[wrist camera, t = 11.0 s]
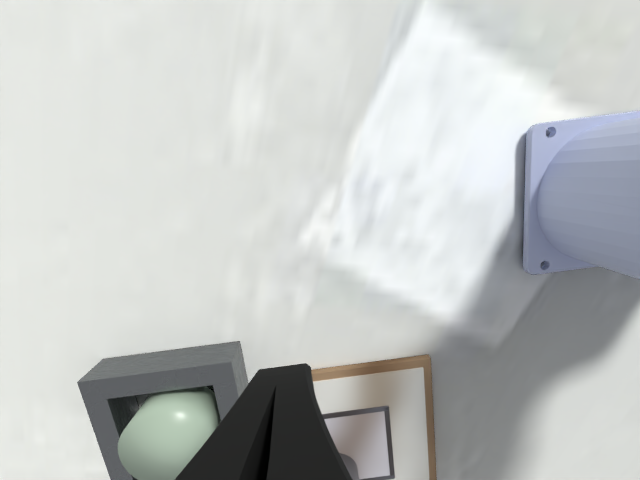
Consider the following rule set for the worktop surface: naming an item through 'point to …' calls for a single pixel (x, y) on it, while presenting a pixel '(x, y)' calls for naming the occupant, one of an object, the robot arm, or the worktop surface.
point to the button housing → (155, 388)
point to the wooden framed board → (381, 416)
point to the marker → (350, 466)
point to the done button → (168, 432)
